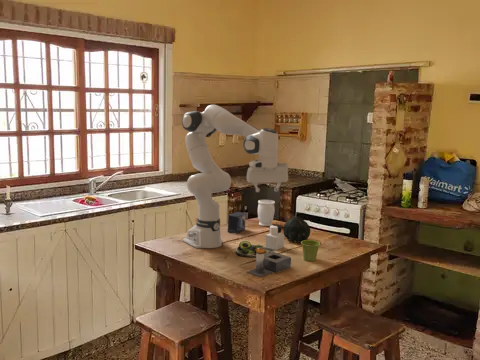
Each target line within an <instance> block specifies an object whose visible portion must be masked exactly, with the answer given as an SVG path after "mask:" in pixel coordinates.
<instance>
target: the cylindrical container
mask: <svg viewBox="0 0 480 360" xmlns="http://www.w3.org/2000/svg"><path fill="white" fill-rule="evenodd" d="M264 251H265V249H264V248H262V247H258V248H256V254H255V255H256V257H255V258H256V259H255V269H256V273H263V272H264Z"/></svg>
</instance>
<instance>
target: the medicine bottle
mask: <svg viewBox="0 0 480 360" xmlns="http://www.w3.org/2000/svg"><path fill="white" fill-rule="evenodd" d="M265 247H267V248H268V249H272V250H275V251H277V250H281V249H282V248H283V249H284V248H285V236H284V233H283V234H282V226H281V225H279V224H272V225H271V226H269V233H267V234H265Z"/></svg>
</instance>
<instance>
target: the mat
mask: <svg viewBox="0 0 480 360" xmlns="http://www.w3.org/2000/svg"><path fill="white" fill-rule="evenodd" d="M246 273H248V274H251V275H253V276H256V277H259V278H262V277H265V276H268V275H270V274H272V273H273V272H271V271H268V270H265V269H264V272H263V273H256V268H253V269H251V270H248V271H246Z"/></svg>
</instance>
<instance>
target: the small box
mask: <svg viewBox="0 0 480 360" xmlns="http://www.w3.org/2000/svg"><path fill="white" fill-rule="evenodd" d="M246 215H247V214H246V213H245V212H241V211H235V212H233V213H229V214H228V218H227V233H231V234H238V233H241V232H244V231H245V230H246V218H247V217H246Z"/></svg>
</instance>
